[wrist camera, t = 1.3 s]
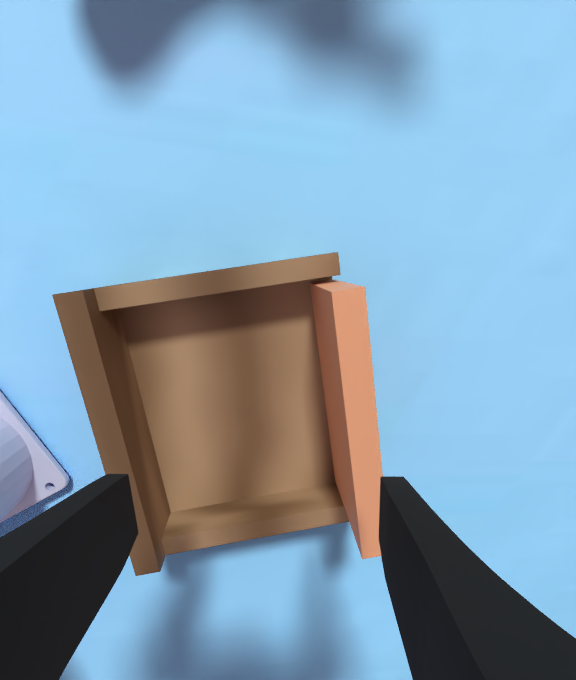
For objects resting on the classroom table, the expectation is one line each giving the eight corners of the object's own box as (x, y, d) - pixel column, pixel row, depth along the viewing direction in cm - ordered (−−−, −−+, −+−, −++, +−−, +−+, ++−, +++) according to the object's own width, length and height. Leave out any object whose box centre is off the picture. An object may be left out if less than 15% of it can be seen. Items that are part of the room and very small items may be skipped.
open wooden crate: (160, 512, 22) (135, 575, 17) (101, 287, 18) (52, 294, 14) (350, 478, 22) (372, 531, 18) (324, 254, 19) (343, 251, 15)
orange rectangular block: (335, 480, 20) (362, 559, 15) (309, 283, 18) (331, 292, 12) (355, 476, 20) (389, 553, 15) (333, 279, 18) (364, 286, 12)
